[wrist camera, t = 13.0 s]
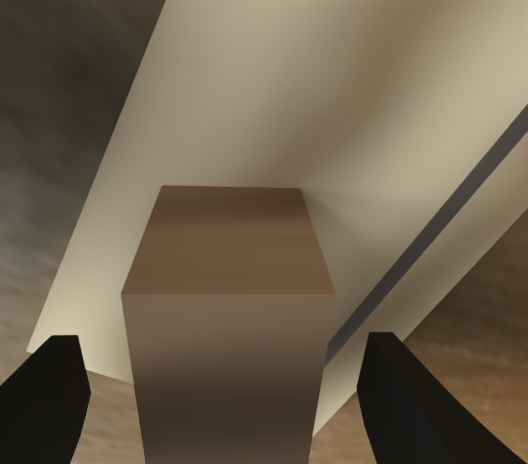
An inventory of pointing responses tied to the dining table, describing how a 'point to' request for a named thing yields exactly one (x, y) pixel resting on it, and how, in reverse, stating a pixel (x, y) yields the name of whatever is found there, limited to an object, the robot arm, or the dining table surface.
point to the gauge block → (228, 326)
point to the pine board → (316, 155)
